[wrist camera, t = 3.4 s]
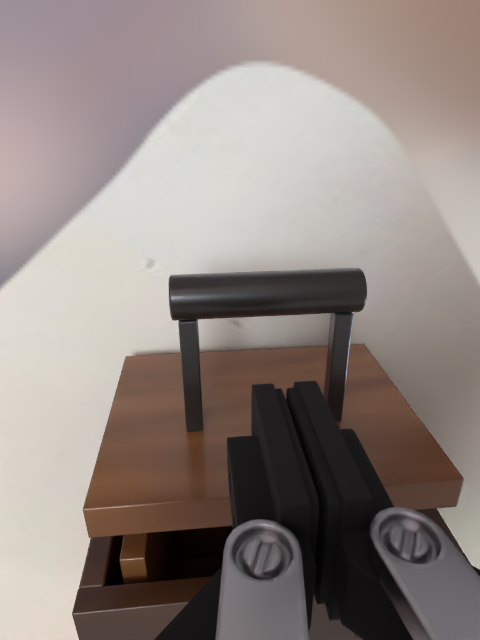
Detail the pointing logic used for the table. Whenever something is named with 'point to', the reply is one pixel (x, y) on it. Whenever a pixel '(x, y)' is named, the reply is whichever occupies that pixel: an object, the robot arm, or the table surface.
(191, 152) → the table surface
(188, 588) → the cabinet
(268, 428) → the robot arm
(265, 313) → the drawer
